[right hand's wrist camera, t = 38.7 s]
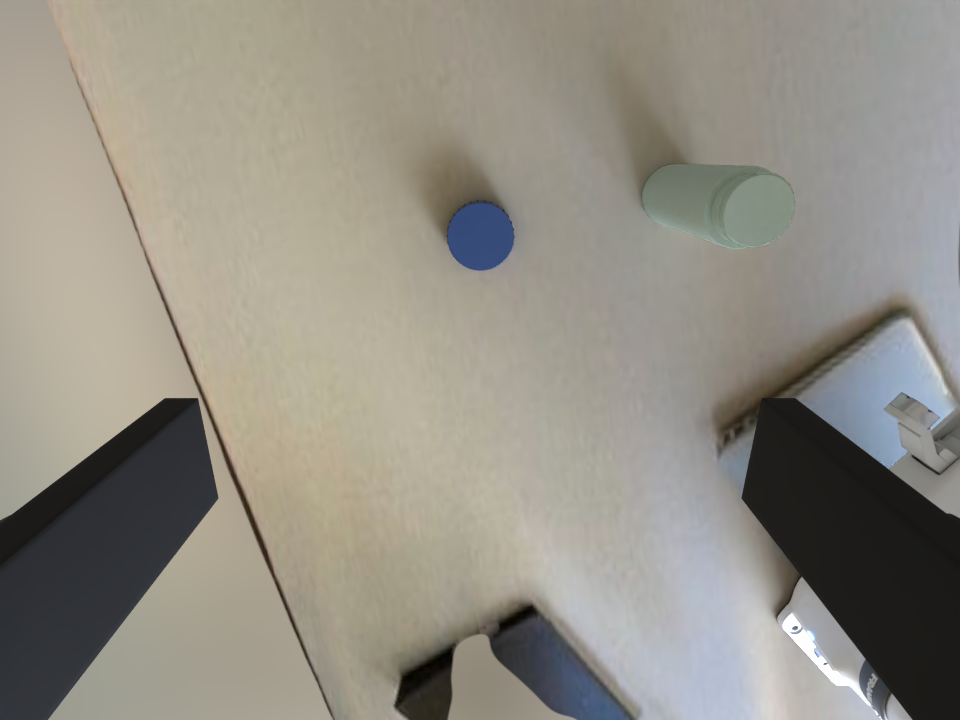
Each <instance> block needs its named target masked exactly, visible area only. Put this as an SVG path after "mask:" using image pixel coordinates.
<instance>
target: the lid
mask: <svg viewBox="0 0 960 720" xmlns="http://www.w3.org/2000/svg"><path fill="white" fill-rule="evenodd" d="M449 223H450V225H449V227H448V229H447V230H448V234H447V239H448V245H449V249H450V251H451V253H452V255H453V257H454V258H455V259H456V260H457V261H458V262H459V263H460V264H462V265H463V266H465V267H467V268H469V269H473V270H489V269H492V268H494V267H496V266H498V265H500V264H501V263H502V262H503V261H504V260H505V259H506V258H507V257H508V255H509V253H510V252H511V249H512V246H513V241H514V232H513V231H514V229H513V227H512V222H511V221H510V220H509V216H508V215H506V213H505V212H504V210H502V209H501V208H500V207H499V206H498V205H495V204H493V203H492V202H491V203H490V202H486V201H485V200H484V201H478V200H477V201H476V202H470V203H469V204H466V205H464V206H463V207H462V208H460V209H458V211H457V212H456V214H454V215H453V218H452V220H450V222H449Z"/></svg>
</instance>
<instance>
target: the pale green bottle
mask: <svg viewBox="0 0 960 720" xmlns="http://www.w3.org/2000/svg"><path fill="white" fill-rule="evenodd" d="M642 204H643V208H644V210H645V212H646V214H647V215H648V216H649V217H650V218H651V219H652V220H653V221H655V222H657V223H660V224H662V225H665V226H668V227H671V228H674V229H676V230H679V231H682V232H685V233H688V234H690V235H693V236H696V237H699V238H701V239H704V240H707V241H710V242H713V243H715V244H718V245H721V246H724V247H727V248H731V249H743V248H754V247H760V246H763V245H766V244H768V243H770V242H772V241H774V240H775V239H777V238H778V237H779V236H780V235H781V234H782V233H783V232H784V231H785V230H786V228H787V227H788V225H789V224H790V222H791V220H792V217H793V214H794V209H795V198H794V192H793V190H792V188H791V186H790V184H789V183H788V182H787V181H786V180H785V179H784V178H783V177H781V176H779V175H777V174H775V173H771V172H770V171H768V170H766V169H764V168H761V167H757V166H731V165H692V164H670V165H666V166H663V167H661V168H659V169H658V170H656V171H655V172H654V173H653V174H652V175H651V176H650V177H649V178H648V180H647V181H646V183H645V185H644V188H643V192H642Z"/></svg>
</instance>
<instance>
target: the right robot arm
mask: <svg viewBox="0 0 960 720" xmlns="http://www.w3.org/2000/svg"><path fill="white" fill-rule="evenodd" d="M217 499H218V494H217V489H216V484H215V479H214V474H213V470H212V464H211V460H210V455H209V450H208V445H207V440H206V435H205V430H204V425H203V421H202V416H201V411H200V406H199V401H198V398H165V399H163V400H162V401H161V402H159V403H158V404H157V405H156V406H154V407H153V408H152V409H150V410H149V411H148V412H146V413H145V414H144V415H142V416H141V417H140V418H138V419H137V420H136V421H135V422H133V423H132V424H131V425H129V426H128V427H127V428H125V429H124V430H123V431H121V432H120V433H119V434H117V435H116V436H115V437H113V438H112V439H111V440H110V441H108V442H107V443H105V444H104V445H103V446H102V447H100V448H99V449H98V450H96V451H95V452H94V453H92V454H91V455H90V456H88V457H87V458H86V459H84V460H83V461H82V462H81V463H79V464H78V465H77V466H75V467H74V468H73V469H71V470H70V471H69V472H67V473H66V474H65V475H63V476H62V477H61V478H59V479H58V480H57V481H55V482H54V483H53V484H52V485H50V486H49V487H48V488H46V489H45V490H44V491H42V492H41V493H40V494H38V495H37V496H36V497H34V498H33V499H32V500H31V501H29V502H28V503H26V504H25V505H24V506H23V507H21V508H20V509H19V510H17V511H16V512H15V513H13V514H12V515H10V516H8V517H6V518H4V519H2V520H0V720H48V719H49V717H50V716H51V715H52V714H53V712H54V711H55V710H56V708H57V707H58V706H59V704H60V703H61V702H62V701H63V699H64V698H65V697H66V695H67V694H68V693H69V691H70V690H71V689H72V688H73V686H74V685H75V684H76V682H77V681H78V680H79V679H80V677H81V676H82V675H83V673H84V672H85V671H86V669H87V668H88V667H89V666H90V664H91V663H92V662H93V660H94V659H95V658H96V656H97V655H98V654H99V653H100V651H101V650H102V649H103V647H104V646H105V645H106V644H107V642H108V641H109V640H110V638H111V637H112V636H113V634H114V633H115V632H116V631H117V629H118V628H119V627H120V625H121V624H122V623H123V621H124V620H125V619H126V618H127V616H128V615H129V614H130V612H131V611H132V610H133V609H134V607H135V606H136V605H137V603H138V602H139V601H140V599H141V598H142V597H143V596H144V594H145V593H146V592H147V590H148V589H149V588H150V586H151V585H152V584H153V582H154V581H155V580H156V579H157V577H158V576H159V575H160V573H161V572H162V571H163V570H164V568H165V567H166V566H167V564H168V563H169V562H170V560H171V559H172V558H173V556H174V555H175V554H176V553H177V551H178V550H179V549H180V547H181V546H182V545H183V544H184V542H185V541H186V540H187V538H188V537H189V536H190V535H191V533H192V532H193V531H194V529H195V528H196V527H197V525H198V524H199V523H200V522H201V520H202V519H203V518H204V516H205V515H206V514H207V513H208V511H209V510H210V509H211V507H212V506H213V505H214V503H215V502H216V501H217ZM742 500H743V501H744V502H745V503H746V505H747V506H748V507H749V509H750V510H751V511H752V513H753V514H754V515H755V516H756V518H757V519H758V520H759V522H760V523H761V524H762V525H763V527H764V528H765V529H766V531H767V532H768V533H769V535H770V536H771V537H772V538H773V540H774V541H775V542H776V544H777V545H778V546H779V548H780V549H781V550H782V551H783V553H784V554H785V555H786V557H787V558H788V559H789V561H790V562H791V563H792V564H793V566H794V567H795V568H796V570H797V571H798V572H799V573H800V575H801V576H802V577H803V579H804V580H805V581H806V583H807V584H808V585H809V586H810V588H811V589H812V590H813V592H814V593H815V594H816V596H817V597H818V598H819V599H820V601H821V602H822V603H823V605H824V606H825V607H826V609H827V610H828V611H829V612H830V614H831V615H832V616H833V618H834V619H835V620H836V621H837V623H838V624H839V625H840V627H841V628H842V629H843V631H844V632H845V633H846V634H847V636H848V637H849V638H850V640H851V641H852V642H853V644H854V645H855V646H856V647H857V649H858V650H859V651H860V653H861V654H862V655H863V656H864V658H865V659H866V660H867V662H868V663H869V664H870V666H871V667H872V668H873V669H874V671H875V672H876V673H877V675H878V676H879V677H880V679H881V680H882V681H883V682H884V684H885V685H886V686H887V688H888V689H889V690H890V692H891V693H892V694H893V695H894V697H895V698H896V699H897V701H898V702H899V703H900V704H901V706H902V707H903V708H904V710H905V711H906V712H907V714H908V715H909V716H910V717H911V719H912V720H960V518H959V517H957V516H955V515H953V514H951V513H945V512H944V511H943V510H941V509H940V508H939V507H937V506H936V505H935V504H934V503H932V502H931V501H930V500H928V499H927V498H926V497H924V496H923V495H922V494H920V493H919V492H918V491H916V490H915V489H914V488H912V487H911V486H910V485H909V484H907V483H906V482H905V481H903V480H902V479H901V478H899V477H898V476H897V475H895V474H894V473H893V472H891V471H890V470H889V469H887V468H886V467H885V466H883V465H882V464H881V463H880V462H878V461H877V460H876V459H874V458H873V457H872V456H870V455H869V454H868V453H866V452H865V451H864V450H862V449H861V448H860V447H858V446H857V445H856V444H855V443H853V442H852V441H851V440H849V439H848V438H847V437H845V436H844V435H843V434H841V433H840V432H839V431H837V430H836V429H835V428H833V427H832V426H831V425H829V424H828V423H827V422H826V421H824V420H823V419H822V418H820V417H819V416H818V415H816V414H815V413H814V412H812V411H811V410H810V409H808V408H807V407H806V406H804V405H803V404H802V403H801V402H799V401H798V400H797V399H795V398H762V401H761V406H760V411H759V416H758V420H757V425H756V430H755V435H754V440H753V445H752V450H751V455H750V460H749V464H748V469H747V474H746V479H745V484H744V489H743V494H742Z"/></svg>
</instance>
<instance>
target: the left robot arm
mask: <svg viewBox="0 0 960 720" xmlns="http://www.w3.org/2000/svg"><path fill="white" fill-rule="evenodd" d="M883 410H884V411H885V412H886V413H888V414H889V415H890V416H892V417H893V418H894V419H896V420H897V421H898V422H899V423H898V428H899V434H900V440H901V445H902V447H903V448H904V449H906V450H907V451H908V452H907V453H906V454H905V455H904V456H903V457H902V458H901V459H899V460H898V461H897V462H896V463H895V464H894V465H893V466H892V467H891V468H890V469H889V470H890V471H891V472H893V473H894V474H895V475H897V476H898V477H899V478H901V479H902V480H903V481H905V482H906V483H907V484H909V485H910V486H911V487H912V488H914V489H915V490H916V491H918V492H919V493H920V494H922V495H923V496H924V497H926V498H927V499H928V500H930V501H931V502H932V503H934V504H935V505H936V506H937V507H939V508H940V509H941V510H943V511H944V512H945V513H951V514H953V515H955V516H957V517H959V518H960V405H959V406H958V407H957V408H956V409H955V410H953V411H952V412H951V413H950V414H949V415H948V416H947V417H946V418H945V419H944V420H942V421H941V422H940V423H939V424H938V425H937V426H936V427H935V428H934V429H933V430H930V427H931V426H932V425H933V424H934V423H935V422H936V421H937V420H938V419H939V418H940V417H939V416H937V415H936V414H935V413H934V412H932V411H930V410H929V409H928V408H927V407H926V406H924V405H923V404H922V403H920V402H918V401H917V400H915V399H913V398H910V397H909V396H908V395H906V394H904V393H902V392H901V393H900V394H899V395H898V396H897V397H896V398H895V399H894V400H893V401H892V402H890V403H889V404H888V405H887V406H886V407H885V408H884V409H883ZM777 621H778V623H779V624H780V626H781V627H782V628H783V629H784V630H785V631H786V632H787V634H788V635H789V636H790V637H791V638H792V639H793V640H794V641H795V642H796V643H797V644H798V645H799V647H800V648H801V649H802V650H803V651H804V652H805V653H806V654H807V655H808V656H809V657H810V658H811V659H812V661H813V662H814V663H815V664H816V665H817V666H818V667H819V668H820V669H821V670H822V671H823V672H824V674H825V675H826V676H827V677H828V678H829V679H830V680H831V681H832V682H833V683H834V684H836V685H841V686H849V685H850V686H851V687H852V689H853V690H854V691H855V692H856V693H857V694H858V695H859V696H860V697H861V698H862V699H863V700H864V701H865V702H866V703H867V704H868V705H869V706H871V707H872V709H873V710H874V711H875V712H876V714H877V715H878V716H879V717H880V718H881V719H882V720H912V719H911V717H910V716H909V715H908V714H907V712H906V711H905V710H904V708H903V707H902V706H901V704H900V703H899V702H898V701H897V699H896V698H895V697H894V695H893V694H892V693H891V692H890V690H889V689H888V688H887V686H886V685H885V684H884V682H883V681H882V680H881V679H880V677H879V676H878V675H877V673H876V672H875V671H874V669H873V668H872V667H871V666H870V664H869V663H868V662H867V660H866V659H865V658H864V656H863V655H862V654H861V653H860V651H859V650H858V649H857V647H856V646H855V645H854V644H853V642H852V641H851V640H850V638H849V637H848V636H847V634H846V633H845V632H844V631H843V629H842V628H841V627H840V625H839V624H838V623H837V621H836V620H835V619H834V618H833V616H832V615H831V614H830V612H829V611H828V610H827V609H826V607H825V606H824V605H823V603H822V602H821V601H820V599H819V598H818V597H817V596H816V594H815V593H814V592H813V590H812V589H811V588H810V586H809V585H808V584H807V583H806V581H805V580H804V579H803V577H801V578H800V580H799V581H798V583H797V585H796V587H795V589H794V592H793V595H792V598H791V600H790V602H789V604H788V605H787V606H786V607H785V608H784V609H783V610H782V612H781V613H780V614H779V616H778V618H777Z"/></svg>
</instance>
